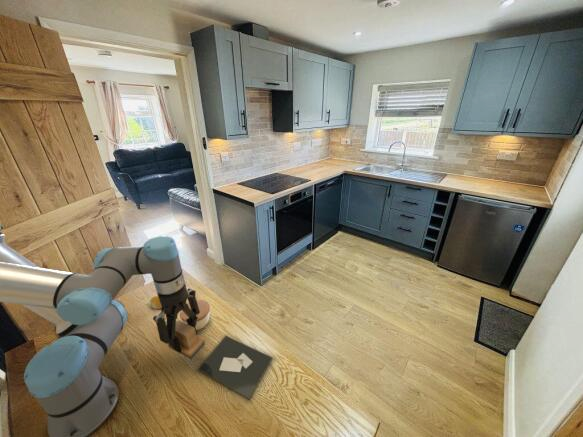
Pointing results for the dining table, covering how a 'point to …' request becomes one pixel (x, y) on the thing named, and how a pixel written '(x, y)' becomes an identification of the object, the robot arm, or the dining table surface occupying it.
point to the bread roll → (155, 302)
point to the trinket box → (202, 316)
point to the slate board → (236, 366)
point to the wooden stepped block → (188, 340)
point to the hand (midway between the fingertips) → (185, 341)
